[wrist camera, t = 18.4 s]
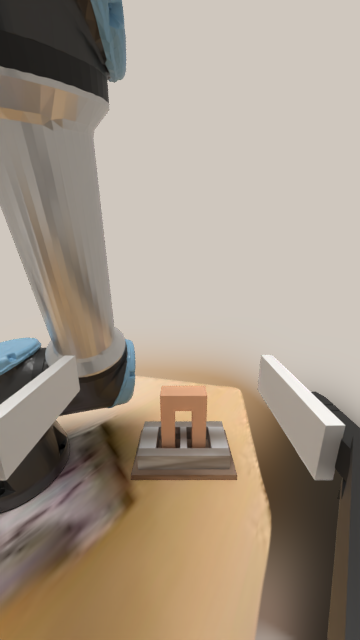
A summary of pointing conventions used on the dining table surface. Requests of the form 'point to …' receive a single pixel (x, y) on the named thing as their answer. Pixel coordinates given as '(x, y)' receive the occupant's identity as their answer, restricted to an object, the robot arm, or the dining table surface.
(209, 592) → the dining table surface
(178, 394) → the tan arch block
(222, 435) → the grey socket block
